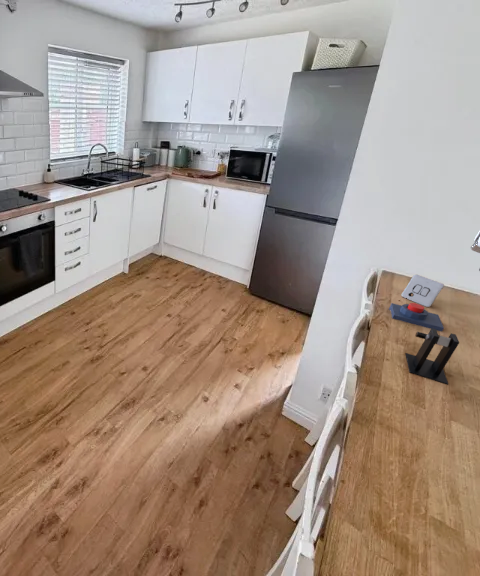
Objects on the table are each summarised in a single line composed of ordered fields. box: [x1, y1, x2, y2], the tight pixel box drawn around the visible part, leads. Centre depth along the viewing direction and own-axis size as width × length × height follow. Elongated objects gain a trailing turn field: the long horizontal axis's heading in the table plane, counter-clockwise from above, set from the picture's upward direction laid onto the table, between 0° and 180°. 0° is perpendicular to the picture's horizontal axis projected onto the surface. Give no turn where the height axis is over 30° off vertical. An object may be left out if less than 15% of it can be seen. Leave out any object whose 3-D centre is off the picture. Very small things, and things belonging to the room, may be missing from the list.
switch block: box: [388, 302, 444, 332], centre depth 122 cm, size 13×10×4 cm
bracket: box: [404, 328, 460, 386], centre depth 97 cm, size 10×8×12 cm
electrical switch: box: [401, 274, 445, 308], centre depth 134 cm, size 9×5×9 cm, turn 28°
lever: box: [414, 331, 451, 347], centre depth 99 cm, size 13×5×2 cm, turn 149°
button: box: [407, 302, 425, 313], centre depth 122 cm, size 4×4×2 cm
